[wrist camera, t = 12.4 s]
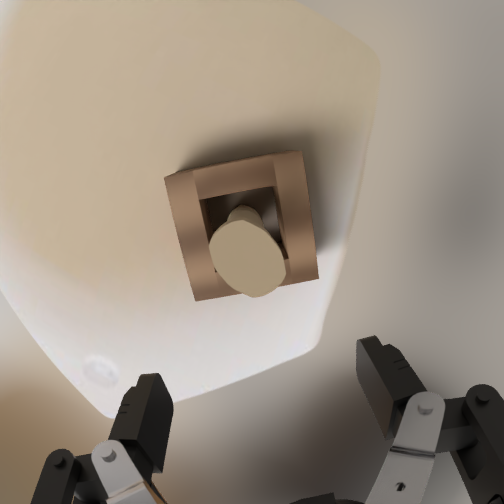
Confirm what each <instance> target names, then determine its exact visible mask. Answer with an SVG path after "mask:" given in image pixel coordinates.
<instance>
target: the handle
mask: <svg viewBox="0 0 504 504" xmlns="http://www.w3.org/2000/svg"><path fill="white" fill-rule="evenodd" d="M209 250H210V254H211V258H212V261H213V264H214V267H215V269H216V270H217V272H218V273H219V275H220V276H221V277H222V278H223V279H224V280H225V281H226V283H227V284H228V285H230V286H231V287H232V288H233V289H235V290H237V291H239V292H241V293H243V294H245V295H248V296H250V297H260V296H264V295H266V294H268V293H270V292H272V291H273V290H275V289H276V288H277V287H278V286H279V285H280V284H281V283H282V281H283V280H284V278H285V275H286V270H285V264H284V259H283V256H282V253H281V250H280V247H279V246H278V244H277V243H276V241H275V240H274V239H273V237H272V236H271V235H270V233H269V232H268V231H267V230H266V229H265V228H264V225H263V222H262V219H261V217H260V216H259V214H258V213H257V211H256V210H255V209H254V208H251V207H249V206H245V205H244V204H241V205H239V207H237V208H235V209H234V210H232V211H231V213H230V215H229V217H228V219H227V222H225V223H224V224H222V225H221V226H220V227H219V228H218V229H217V230H216V231H215V233H214V234H213V236H212V238H211V241H210V244H209Z"/></svg>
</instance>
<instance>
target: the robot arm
mask: <svg viewBox="0 0 504 504" xmlns="http://www.w3.org/2000/svg"><path fill="white" fill-rule="evenodd" d="M356 348H357V349H356V353H357V354H356V371H357V377H358V380H359V383H360V385H361V387H362V389H363V391H364V394H365V396H366V398H367V400H368V402H369V405H370V407H371V409H372V411H373V413H374V416H375V418H376V420H377V422H378V424H379V427H380V429H381V431H382V433H383V436H384V438H385V440H388V439H391V438H395V440H394V443H393V445H392V447H391V448H390V450H389V452H388V455H387V457H386V460H385V462H384V464H383V466H382V469H381V471H380V473H379V475H378V478H377V480H376V482H375V484H374V486H373V488H372V490H371V492H370V495H369V496H368V498H367V500H366V502H365V503H362V502H358V501H354V500H348V499H335V498H334V493H329V494H325V495H320V496H315V497H310V498H306V499H301V500H298V501H296V502H293V503H291V504H420V503H421V500H422V497H423V494H424V491H425V489H426V486H427V483H428V480H429V476H430V474H431V470H432V467H433V464H434V460H435V455H434V453H441V452H448V451H450V454H451V456H452V458H453V460H454V462H455V464H456V466H457V469H458V471H459V473H460V475H461V478H462V480H463V482H464V484H465V487H466V489H467V491H468V494H469V496H470V498H471V501H472V503H473V504H504V400H503V399H502V397H501V396H500V395H499V393H498V392H497V391H496V390H495V389H494V388H493V387H491V386H489V385H485V384H479V385H475V386H473V387H472V388H470V389H469V390H468V392H467V394H466V397H461V398H453V399H443V398H442V397H441V396H439V395H438V394H436V393H433V392H428V391H427V390H426V388H425V387H424V385H423V384H422V382H421V381H420V380H419V378H418V376H417V375H416V373H415V372H414V370H413V369H412V368H411V367H410V365H409V363H408V362H407V360H405V358H404V356H403V355H402V353H401V352H400V350H398V349H397V348H395V347H394V346H392V345H390V344H388V345H384V346H383V345H382V344H381V342H380V341H379V339H378V338H377V337H376V336H375V335H374V336H371V337H367V338H363V339H359V340H357V347H356ZM172 417H173V401H172V398H171V396H170V394H169V392H168V390H167V388H166V386H165V384H164V382H163V379H162V377H161V375H160V374H159V373H152V374H141V375H140V377H139V379H138V382H137V385H136V387H131V388H130V389H129V390H128V391H127V392H126V394H125V395H124V397H123V399H122V402H121V406H120V407H119V410H118V414H117V416H116V418H115V422H114V424H113V427H112V430H111V433H110V436H109V438H108V440H106V441H103V442H101V443H100V444H98V445H97V446H96V447H95V448H94V450H93V452H92V453H91V454H86V455H81V456H74V455H73V454H72V453H71V452H70V451H69V450H66V449H58V450H55V451H53V452H52V453H51V454H50V455H49V456H48V457H47V459H46V461H45V464H44V467H43V469H42V472H41V475H40V478H39V481H38V484H37V487H36V489H35V492H34V495H33V498H32V501H31V504H71V502H72V499H73V495H75V496H74V501H73V504H168V502H167V501H166V500H165V498H164V497H163V496H162V494H161V493H160V491H159V490H158V488H157V487H156V486H155V484H154V483H153V482H152V480H151V477H152V473H162V472H163V466H164V460H165V455H166V449H167V443H168V438H169V432H170V427H171V422H172Z"/></svg>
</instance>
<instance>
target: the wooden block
mask: <svg viewBox="0 0 504 504" xmlns="http://www.w3.org/2000/svg"><path fill="white" fill-rule="evenodd" d="M164 180H165V185H166V189H167V194H168V198H169V202H170V206H171V211H172V215H173V219H174V223H175V227H176V231H177V235H178V239H179V243H180V247H181V251H182V254H183V258H184V262H185V266H186V269H187V273H188V277H189V280H190V284H191V287H192V291H193V294H194V298H195V301H201V300H207V299H213V298H219V297H224V296H230V295H236V294H242V293H241V292H239V291H237V290H235V289H233V288H232V287H231V286H230V285H228V284H227V283H226V281H225V280H224V279H223V278H222V277H221V276H220V275H219V273H218V272H217V270H216V269H215V267H214V264H213V261H212V258H211V254H210V250H209V244H210V241H211V238H212V236H213V234H214V232H213V227H212V223H211V218H210V214H209V209H208V204H207V200H206V198H210V197H215V196H220V195H225V194H231V193H236V192H241V191H246V190H252V189H257V188H263V187H268V186H272V187H273V193H274V199H275V205H276V211H277V217H278V223H279V229H280V236H281V242H280V243H277V244H278V246H279V247H280V250H281V253H282V256H283V259H284V264H285V270H286V275H285V278H284V280H283V281H282V283H281V284H280V285H279V286H285V285H290V284H295V283H300V282H305V281H310V280H315V279H319V275H318V266H317V257H316V248H315V240H314V232H313V224H312V216H311V209H310V201H309V194H308V187H307V181H306V174H305V168H304V161H303V155H302V151H294V150H291V151H284V152H278V153H272V154H266V155H260V156H254V157H248V158H243V159H238V160H232V161H227V162H222V163H217V164H212V165H208V166H203V167H198V168H194V169H189V170H185V171H181V172H176V173H174V174H171V175H169V176H167V177H164ZM279 286H278V287H279Z"/></svg>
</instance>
